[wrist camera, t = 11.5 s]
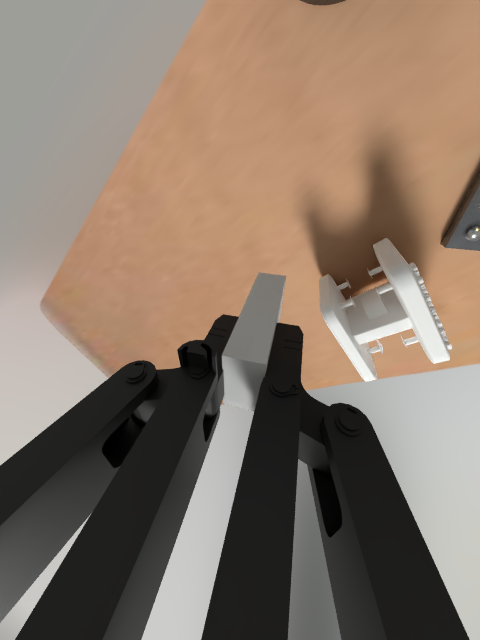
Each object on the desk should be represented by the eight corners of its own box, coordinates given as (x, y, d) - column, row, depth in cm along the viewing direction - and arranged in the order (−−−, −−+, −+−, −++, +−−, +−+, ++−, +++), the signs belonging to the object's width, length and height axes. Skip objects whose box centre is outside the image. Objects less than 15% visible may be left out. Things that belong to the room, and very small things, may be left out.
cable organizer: (314, 269, 37) (314, 309, 28) (388, 229, 31) (417, 264, 22) (355, 336, 42) (367, 388, 33) (425, 312, 36) (461, 367, 27)
